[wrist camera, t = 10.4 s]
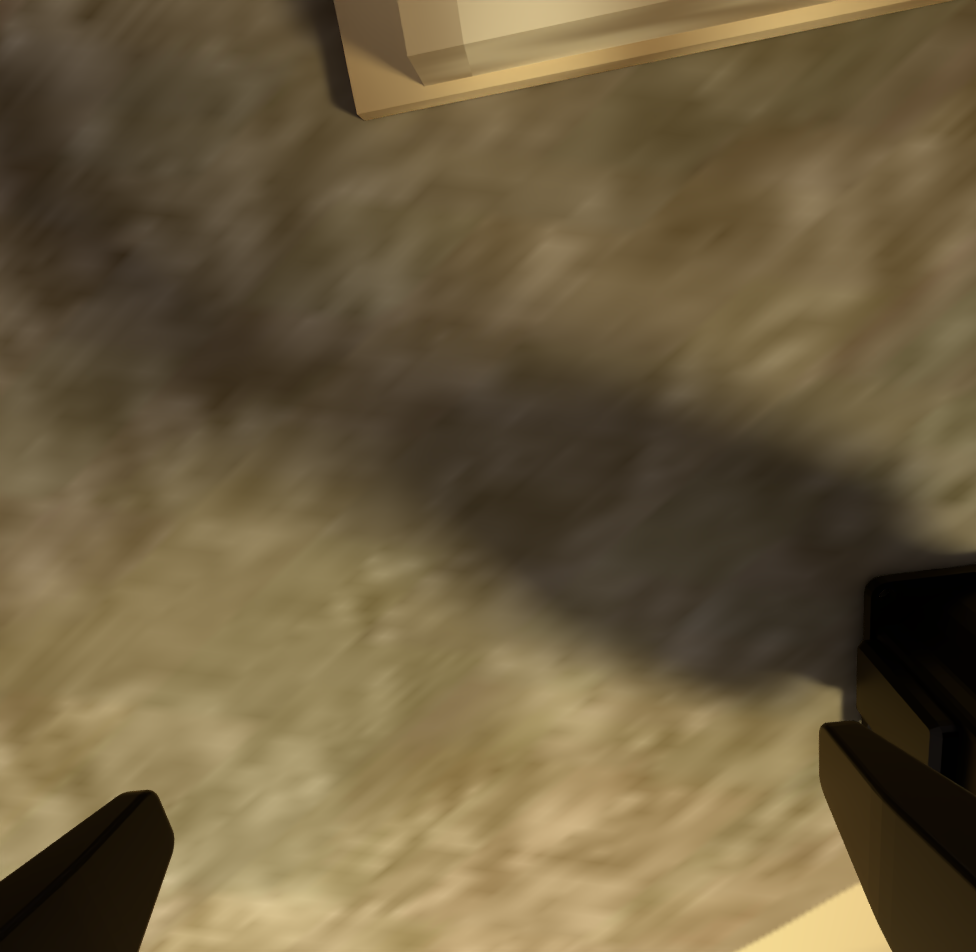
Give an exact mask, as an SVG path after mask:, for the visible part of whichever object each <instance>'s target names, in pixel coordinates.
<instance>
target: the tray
mask: <svg viewBox="0 0 976 952" xmlns="http://www.w3.org/2000/svg"><path fill="white" fill-rule="evenodd" d="M948 1H953V0H334V5H335V10H336V14H337V19H338V24H339V29H340V34H341V39H342V43H343V48H344V53H345V58H346V63H347V68H348V72H349V77H350V82H351V87H352V92H353V97H354V102H355V106H356V111H357V115H359V116H360V117H361V118H362V119H363V120H364V121H366V120H370V119H375V118H380V117H385V116H390V115H395V114H400V113H405V112H410V111H414V110H419V109H424V108H429V107H434V106H439V105H444V104H449V103H454V102H458V101H463V100H468V99H473V98H478V97H483V96H488V95H493V94H498V93H503V92H507V91H512V90H517V89H522V88H527V87H532V86H537V85H542V84H547V83H551V82H556V81H561V80H566V79H571V78H576V77H581V76H586V75H591V74H595V73H600V72H605V71H610V70H615V69H620V68H625V67H630V66H635V65H640V64H644V63H649V62H654V61H659V60H664V59H669V58H674V57H679V56H684V55H688V54H693V53H698V52H703V51H708V50H713V49H718V48H723V47H728V46H732V45H737V44H742V43H747V42H752V41H757V40H762V39H767V38H772V37H777V36H781V35H786V34H791V33H796V32H801V31H806V30H811V29H816V28H821V27H825V26H830V25H835V24H840V23H845V22H850V21H855V20H860V19H865V18H869V17H874V16H879V15H884V14H889V13H894V12H899V11H904V10H909V9H914V8H918V7H923V6H928V5H933V4H938V3H943V2H948Z"/></svg>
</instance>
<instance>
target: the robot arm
mask: <svg viewBox="0 0 976 952" xmlns="http://www.w3.org/2000/svg"><path fill="white" fill-rule="evenodd" d="M886 589H889V592H888V593H887V594H886V595H885V596H882V597H879V596H880V593H881V592H882V591H883V590H886ZM856 707H857V710H858V711H859V713H860V714H861V715H862V724H861V723H859V722H856V721H850V720H849V721H839V722H829V723H824V724H823V725H822V726H821V727H820V731H819V777H820V783H821V787H822V790H823V793H824V796H825V798H826V801H827V803H828V806H829V808H830V810H831V813H832V815H833V818H834V820H835V822H836V825H837V827H838V830H839V832H840V835H841V837H842V839H843V842H844V844H845V847H846V849H847V851H848V854H849V856H850V859H851V861H852V863H853V866H854V868H855V871H856V873H857V875H858V878H859V880H860V883H861V885H862V887H863V890H864V892H865V894H866V897H867V899H868V902H869V904H870V906H871V909H872V911H873V913H874V915H875V918H876V920H877V922H878V924H879V926H880V928H881V930H882V932H883V934H884V936H885V938H886V940H887V942H888V944H889V946H890V948H891V950H892V952H976V565H968V566H960V567H951V568H943V569H934V570H926V571H918V572H909V573H901V574H892V575H884V576H879V577H875V578H874V579H872V580H871V581H869V583H868V584H867V585H866V587H865V591H864V633H863V641H861V643H860V645H859V646H858V648H857V699H856ZM173 849H174V833H173V830H172V827H171V825H170V823H169V820H168V818H167V816H166V813H165V811H164V808H163V806H162V804H161V801H160V799H159V797H158V795H157V794H156V793H155V792H154V791H152V790H140V791H130V792H125V793H122V794H120V795H119V796H117V797H116V798H114V799H113V800H112V801H110V802H109V803H107V804H106V805H105V806H103V807H102V808H101V809H99V810H98V811H96V812H95V813H94V814H92V815H91V816H90V817H88V818H87V819H85V820H84V821H83V822H81V823H80V824H79V825H77V826H76V827H74V828H73V829H72V830H70V831H69V832H68V833H66V834H65V835H63V836H62V837H61V838H59V839H58V840H57V841H55V842H54V843H52V844H51V845H50V846H48V847H47V848H46V849H44V850H43V851H41V852H40V853H39V854H37V855H36V856H35V857H33V858H32V859H30V860H29V861H28V862H26V863H25V864H24V865H22V866H21V867H19V868H18V869H17V870H15V871H14V872H13V873H11V874H10V875H9V876H7V877H6V878H4V879H3V880H2V881H0V952H139V949H140V946H141V943H142V940H143V937H144V934H145V931H146V929H147V926H148V923H149V920H150V917H151V914H152V911H153V908H154V905H155V903H156V900H157V897H158V894H159V891H160V888H161V885H162V882H163V879H164V877H165V874H166V871H167V868H168V865H169V862H170V859H171V856H172V853H173Z"/></svg>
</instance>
